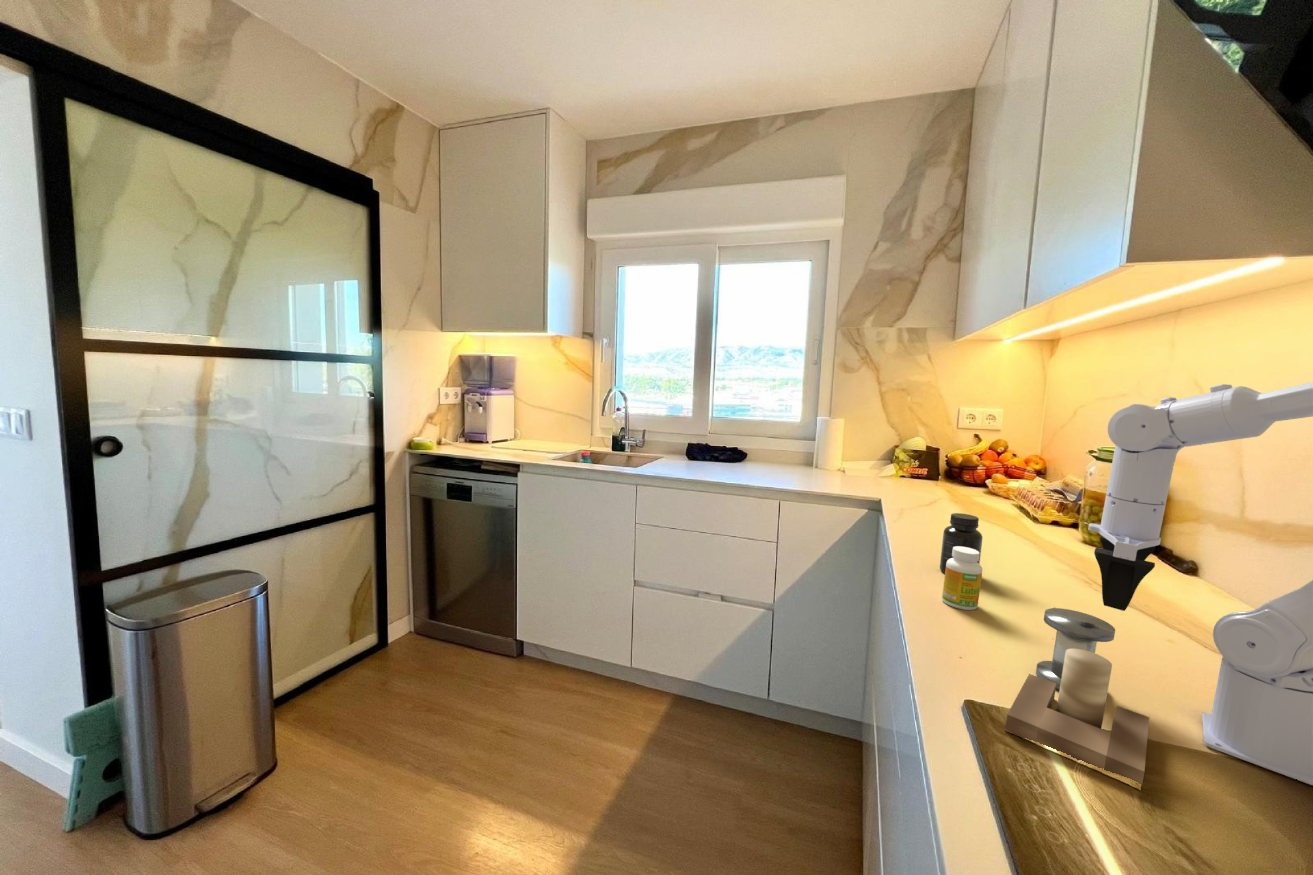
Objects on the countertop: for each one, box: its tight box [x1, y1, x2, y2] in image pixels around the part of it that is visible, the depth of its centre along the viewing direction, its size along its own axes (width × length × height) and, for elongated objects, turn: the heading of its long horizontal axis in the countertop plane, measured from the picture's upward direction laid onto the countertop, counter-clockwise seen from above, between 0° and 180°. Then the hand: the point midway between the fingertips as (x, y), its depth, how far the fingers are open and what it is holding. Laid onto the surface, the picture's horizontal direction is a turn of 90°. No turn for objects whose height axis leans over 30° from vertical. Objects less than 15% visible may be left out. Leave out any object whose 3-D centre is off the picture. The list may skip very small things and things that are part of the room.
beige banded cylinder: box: [1055, 649, 1113, 729], centre depth 58 cm, size 4×4×8 cm
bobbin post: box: [1035, 607, 1116, 692], centre depth 67 cm, size 7×7×8 cm
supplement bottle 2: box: [941, 546, 983, 611], centre depth 90 cm, size 5×5×10 cm
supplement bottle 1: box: [939, 512, 983, 575], centre depth 105 cm, size 7×7×12 cm
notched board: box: [1004, 673, 1150, 786], centre depth 57 cm, size 11×12×2 cm
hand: (1115, 598), depth 69 cm, fingers open, 7 cm apart
